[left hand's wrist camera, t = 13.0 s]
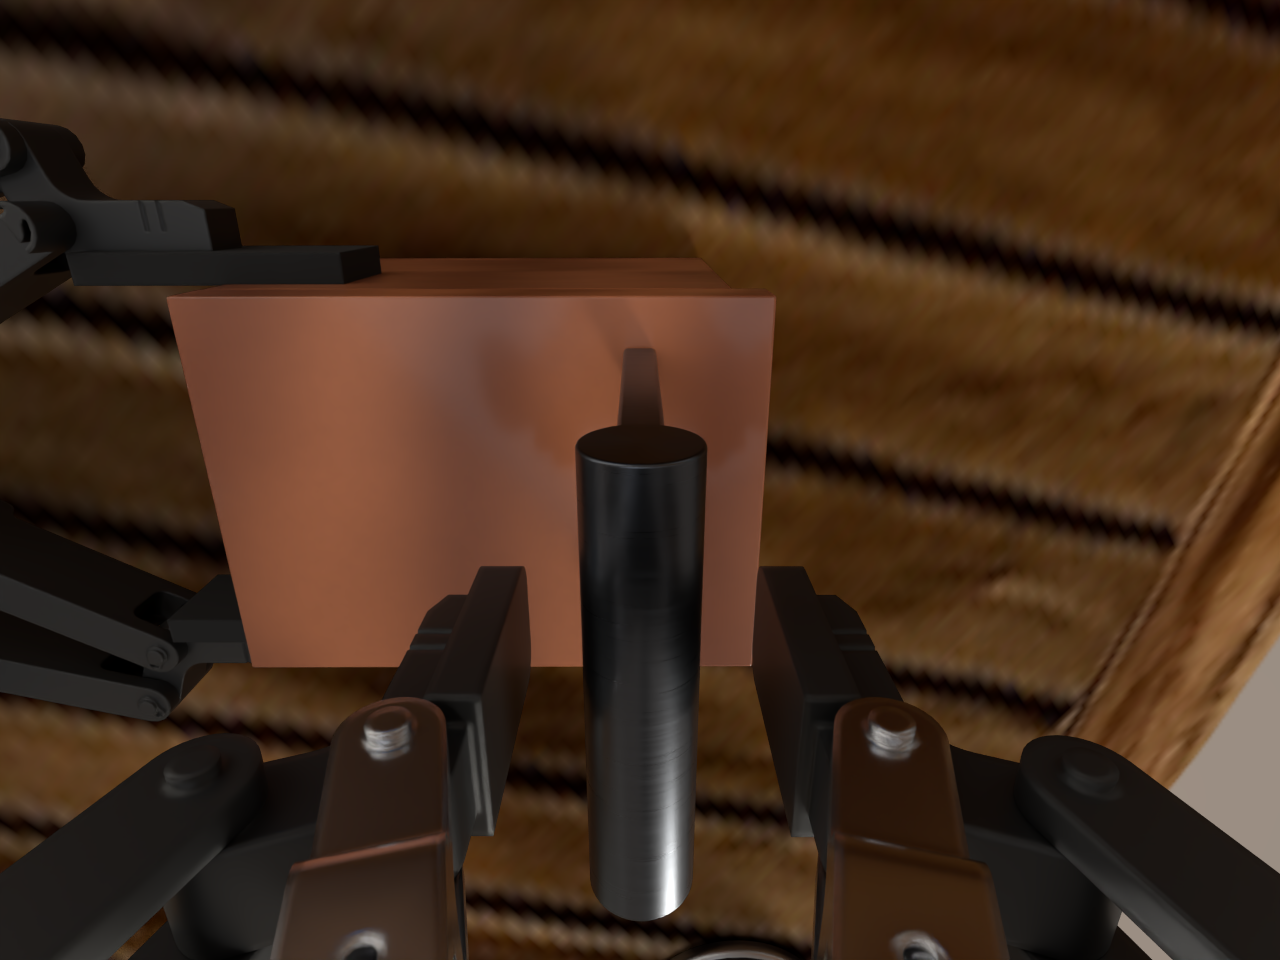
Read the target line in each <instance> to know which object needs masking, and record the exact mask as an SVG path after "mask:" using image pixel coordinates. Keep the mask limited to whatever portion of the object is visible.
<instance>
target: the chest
mask: <svg viewBox="0 0 1280 960" xmlns="http://www.w3.org/2000/svg"><path fill="white" fill-rule="evenodd" d="M380 264H381V272H382V273H381V274H378V275H374V276H371V277H368V278H364V279H361V280H357V281H354V282H351V283H347V284H225V285H221V286H216V287H211V288H206V289H204V290H253V289H731V288H730V287H729V286H728V285H727V284H726V283H725V282H724V281H723V280H722V279H721V278H720V277H719V276H718V275H717V274H716V273H715V272H714V271H713V270H712V269H711V268H710V267H709V266H708V265H707V264H706V263H705V262H704V261H703V260H702V259H701V258H380Z"/></svg>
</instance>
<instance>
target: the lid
mask: <svg viewBox="0 0 1280 960" xmlns="http://www.w3.org/2000/svg"><path fill="white" fill-rule="evenodd" d="M167 303H168V307H169V312H170V316H171V320H172V324H173V329H174V333H175V337H176V342H177V346H178V350H179V354H180V359H181V363H182V367H183V371H184V376H185V380H186V384H187V389H188V393H189V397H190V401H191V406H192V410H193V414H194V418H195V423H196V427H197V431H198V436H199V440H200V444H201V448H202V453H203V457H204V461H205V465H206V470H207V474H208V478H209V483H210V487H211V491H212V495H213V500H214V504H215V508H216V512H217V517H218V521H219V525H220V530H221V534H222V538H223V542H224V547H225V551H226V555H227V559H228V564H229V568H230V572H231V577H232V581H233V585H234V589H235V594H236V598H237V602H238V606H239V611H240V615H241V619H242V624H243V628H244V632H245V636H246V641H247V645H248V649H249V653H250V658H251V662H252V666H253V667H399V666H400V664H401V662H402V660H403V658H404V656H405V654H406V652H407V650H409V649H410V644H411V642H412V640H413V638H414V636H415V634H418V629H419V627H420V625H421V623H422V621H423V619H424V617H425V615H426V613H427V611H428V610H429V609H431V608H432V607H433V606H434V605H436V604H437V603H438V602H440V601H441V600H442V599H443V598H445V597H446V596H447V595H468V593H469V591H470V588H471V586H472V584H473V581H474V579H475V577H476V574H477V572H478V570H479V568H480V567H481V566H524V567H525V570H526V576H527V588H528V604H529V619H530V635H531V667H544V666H583V687H584V715H585V743H586V771H587V799H588V828H589V856H590V880H591V886H592V889H593V891H594V893H595V895H596V897H597V899H598V900H599V901H600V903H601V904H602V905H603V906H604V907H605V908H606V909H607V910H609V911H610V912H612V913H613V914H615V915H617V916H619V917H621V918H624V919H628V920H633V921H650V920H655V919H659V918H662V917H664V916H666V915H668V914H670V913H671V912H673V911H674V910H675V909H677V908H678V907H679V906H680V905H681V904H682V903H683V901H684V900H685V898H686V897H687V895H688V893H689V891H690V888H691V885H692V879H693V851H694V822H695V794H696V765H697V736H698V707H699V678H700V666H751V665H752V642H753V627H754V612H755V597H756V582H757V573H758V568H759V553H760V538H761V523H762V508H763V493H764V477H765V462H766V447H767V432H768V417H769V402H770V387H771V371H772V356H773V341H774V326H775V311H776V296H775V295H773V294H772V293H771V292H769V291H768V290H766V289H253V290H196V291H191V292H186V293H181V294H177V295H172V296H168V297H167Z"/></svg>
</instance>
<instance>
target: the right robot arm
mask: <svg viewBox="0 0 1280 960" xmlns="http://www.w3.org/2000/svg"><path fill="white" fill-rule="evenodd" d="M84 164H85V152H84V149H83V146H82V144H81V142H80V141H79V139H78V138H77V136H76V135H75V134H73V133H72V132H71V131H69V130H68V129H66V128H64V127H61V126H58V125H50V124H42V123H34V122H26V121H18V120H10V119H2V118H0V197H3V196H5V197H6V198H7V200H8V201H0V209H4V212H3V213H2V214H0V324H1V323H2V322H4V321H5V320H7V319H8V318H10V317H11V316H13V315H14V314H16V313H17V312H19V311H21V310H22V309H24V308H25V307H27V306H28V305H30V304H31V303H33V302H34V301H36V300H37V299H39V298H40V297H42V296H44V295H45V294H47V293H48V292H50V291H51V290H53V289H54V288H56V287H57V286H59V285H60V284H62V283H63V282H65V281H67V280H68V279H70V278H71V277H72V279H73V283H74V286H192V285H225V284H347V283H351V282H354V281H357V280H361V279H364V278H368V277H371V276H374V275H378V274H381V273H382V272H381V264H380V256H379V248H378V246H242V245H241V239H240V234H239V229H238V224H237V219H236V213H235V208H232V207H230V206H227V205H224V204H222V203H219V202H217V201H214V200H117V199H113V198H111V197H108V196H106V195H105V194H103V193H102V192H100V191H99V190H98V189H97V188H96V187H95V186H94V185H93V183H92V182H91V181H90V179H89V178H88V176H87V175H86V173H85V171H84V170H83V168H82V167H83V166H84ZM13 514H14V508H13V506H12V505H11V504H9V503H7V502H5V501H3V500H0V692H4V693H9V694H15V695H20V696H25V697H30V698H35V699H40V700H45V701H51V702H56V703H61V704H66V705H71V706H76V707H81V708H87V709H92V710H97V711H102V712H107V713H112V714H117V715H122V716H128V717H133V718H138V719H143V720H148V721H160V720H163V719H165V718H166V717H167V716H168V715H169V714H170V713H171V712H172V711H173V710H174V709H175V708H176V707H177V705H178V704H179V703H180V702H181V701H182V700H183V699H184V698H185V697H186V696H187V694H188V693H189V692H190V691H191V690H192V689H193V688H194V687H195V686H196V685H197V683H198V682H199V681H200V680H201V679H202V678H203V677H204V676H205V675H206V674H207V672H208V671H209V670H210V669H211V668H212V666H213V663H247V662H250V663H252V662H251V658H250V653H249V649H248V645H247V641H246V636H245V632H244V628H243V624H242V619H241V615H240V611H239V606H238V602H237V598H236V594H235V589H234V585H233V581H232V577H231V575H217V576H216V577H215V578H214V579H213V580H211V581H210V582H209V583H208V584H207V585H206V586H205V587H204V588H203V589H201V590H200V591H199V592H198V593H195V592H193V591H191V590H188V589H186V588H183V587H181V586H179V585H176V584H174V583H171V582H169V581H167V580H164V579H162V578H159V577H157V576H155V575H152V574H150V573H147V572H145V571H142V570H140V569H138V568H135V567H133V566H130V565H128V564H126V563H123V562H121V561H118V560H116V559H114V558H111V557H109V556H106V555H104V554H102V553H99V552H97V551H94V550H92V549H90V548H87V547H85V546H82V545H80V544H78V543H75V542H73V541H70V540H68V539H66V538H63V537H61V536H58V535H56V534H54V533H51V532H49V531H46V530H44V529H42V528H39V527H37V526H34V525H32V524H30V523H27V522H25V521H22V520H20V519H18V518H16V517H15V516H14V515H13ZM158 625H160V626H158Z"/></svg>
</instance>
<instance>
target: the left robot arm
mask: <svg viewBox="0 0 1280 960" xmlns="http://www.w3.org/2000/svg"><path fill="white" fill-rule="evenodd" d="M752 663H753V674H754V681H755V685H756V690H757V694H758V698H759V702H760V707H761V711H762V715H763V719H764V723H765V728H766V732H767V736H768V740H769V745H770V749H771V753H772V757H773V762H774V766H775V770H776V774H777V778H778V783H779V787H780V791H781V795H782V800H783V804H784V808H785V812H786V816H787V821H788V825H789V829H790V833H791V837H814V838H815V842H816V846H817V849H818V853H819V854H818V862H817V870H816V878H815V898H814V918H813V938H812V958H811V960H1152V959H1151V958H1150V957H1149V956H1148V955H1147V954H1146V953H1145V952H1144V951H1143V950H1142V949H1141V948H1140V947H1139V946H1138V945H1137V944H1136V943H1135V942H1134V941H1133V940H1132V939H1131V938H1130V937H1129V936H1128V935H1126V933H1124V932H1123V931H1122V930H1121V929H1120V928H1119V927H1118V926H1117V925H1118V921H1119V919H1120V915H1121V913H1122V912H1124V913H1125V914H1126V915H1127V916H1128V917H1129V918H1130V919H1131V920H1132V921H1133V922H1134V923H1135V924H1136V925H1137V926H1138V927H1139V928H1140V929H1141V930H1142V931H1143V932H1144V933H1145V934H1146V935H1147V936H1149V937H1150V938H1151V939H1152V940H1153V941H1154V942H1155V943H1156V944H1157V945H1158V946H1159V947H1160V948H1161V949H1162V950H1163V951H1164V952H1165V953H1166V954H1167V955H1168V956H1169V957H1170V958H1171V959H1173V960H1280V874H1279V873H1278V872H1277V871H1275V870H1274V869H1273V868H1271V867H1270V866H1269V865H1267V864H1266V863H1265V862H1263V861H1262V860H1261V859H1259V858H1258V857H1257V856H1255V855H1254V854H1253V853H1251V852H1250V851H1249V850H1247V849H1246V848H1245V847H1243V846H1242V845H1241V844H1239V843H1238V842H1237V841H1235V840H1234V839H1233V838H1231V837H1230V836H1229V835H1227V834H1226V833H1225V832H1223V831H1222V830H1221V829H1219V828H1218V827H1217V826H1215V825H1214V824H1213V823H1211V822H1210V821H1209V820H1207V819H1206V818H1205V817H1203V816H1202V815H1201V814H1199V813H1198V812H1197V811H1195V810H1194V809H1193V808H1191V807H1190V806H1189V805H1187V804H1186V803H1185V802H1183V801H1182V800H1181V799H1179V798H1178V797H1177V796H1175V795H1174V794H1173V793H1171V792H1170V791H1169V790H1167V789H1166V788H1165V787H1163V786H1162V785H1161V784H1159V783H1158V782H1157V781H1155V780H1154V779H1153V778H1151V777H1150V776H1149V775H1147V774H1146V773H1145V772H1143V771H1142V770H1141V769H1139V768H1138V767H1137V766H1135V765H1134V764H1133V763H1131V762H1130V761H1128V760H1127V759H1125V758H1124V757H1123V756H1121V755H1119V754H1117V753H1116V752H1114V751H1112V750H1110V749H1108V748H1106V747H1103V746H1101V745H1099V744H1096V743H1093V742H1091V741H1087V740H1084V739H1080V738H1075V737H1070V736H1060V735H1052V736H1044V737H1039V738H1036V739H1034V740H1032V741H1031V742H1029V743H1028V744H1027V745H1026V746H1025V747H1024V749H1023V752H1022V755H1021V759H1020V763H1017V762H1013V761H1008V760H1004V759H999V758H995V757H991V756H986V755H982V754H977V753H973V752H970V751H966V750H963V749H960V748H957V747H955V746H952V745H950V744H949V741H948V738H947V735H946V733H945V731H944V730H943V728H942V727H941V726H940V725H939V723H938V722H937V721H936V720H934V719H933V718H932V717H931V716H930V715H928V714H927V713H925V712H924V711H922V710H920V709H919V708H917V707H915V706H912V705H910V704H908V703H905V702H904V701H903V700H902V698H901V696H900V694H899V692H898V690H897V688H896V686H895V684H894V682H893V680H892V678H891V677H890V675H889V673H888V671H887V669H886V667H885V665H884V663H883V661H882V659H881V657H880V656H879V654H878V652H877V651H875V646H874V644H873V642H872V640H871V638H870V636H869V634H867V633H866V629H865V627H864V625H863V623H862V621H861V619H860V617H859V615H858V613H857V612H856V611H855V610H854V609H853V608H851V607H850V606H849V605H848V604H846V603H845V602H844V601H842V600H841V599H840V598H839V597H837V596H836V595H816V593H815V591H814V589H813V586H812V584H811V582H810V580H809V577H808V575H807V573H806V571H805V569H804V567H802V566H760V567H759V569H758V573H757V582H756V597H755V612H754V627H753V642H752ZM530 668H531V635H530V619H529V604H528V588H527V576H526V570H525V567H524V566H481V567H480V568H479V570H478V572H477V574H476V577H475V579H474V581H473V584H472V586H471V588H470V591H469V593H468V595H447V596H446V597H445V598H443V599H442V600H441V601H440V602H438V603H437V604H436V605H434V606H433V607H432V608H431V609H429V610H428V611H427V613H426V615H425V617H424V619H423V621H422V623H421V625H420V627H419V629H418V634H415V636H414V638H413V640H412V642H411V644H410V649H409V650H407V652H406V654H405V656H404V658H403V660H402V662H401V664H400V666H399V667H398V669H397V671H396V673H395V675H394V677H393V679H392V681H391V683H390V685H389V687H388V689H387V691H386V693H385V695H384V697H383V699H382V700H381V701H378V702H375V703H372V704H370V705H368V706H365V707H363V708H361V709H360V710H358V711H356V712H355V713H353V714H352V715H350V716H349V717H348V718H347V719H346V720H344V721H343V722H342V723H341V725H340V726H339V727H338V728H337V730H336V731H335V733H334V735H333V738H332V741H331V746H328V747H326V748H323V749H320V750H316V751H312V752H309V753H304V754H300V755H295V756H291V757H286V758H282V759H277V760H273V761H269V762H264V763H263V759H262V755H261V751H260V748H259V746H258V745H257V744H256V742H255V741H253V740H252V739H250V738H249V737H246V736H243V735H239V734H230V733H223V734H213V735H207V736H203V737H199V738H195V739H192V740H189V741H187V742H184V743H181V744H179V745H177V746H175V747H173V748H171V749H169V750H167V751H165V752H163V753H162V754H160V755H159V756H157V757H156V758H154V759H153V760H151V761H150V762H149V763H147V764H146V765H145V766H143V767H142V768H141V769H139V770H138V771H137V772H135V773H134V774H133V775H131V776H130V777H129V778H127V779H126V780H125V781H123V782H122V783H121V784H119V785H118V786H117V787H115V788H114V789H113V790H111V791H110V792H109V793H107V794H106V795H105V796H103V797H102V798H101V799H99V800H98V801H97V802H95V803H94V804H93V805H91V806H90V807H89V808H87V809H86V810H85V811H83V812H82V813H81V814H79V815H78V816H77V817H75V818H74V819H73V820H71V821H70V822H69V823H67V824H66V825H65V826H63V827H62V828H61V829H59V830H58V831H57V832H55V833H54V834H53V835H51V836H50V837H49V838H47V839H46V840H45V841H43V842H42V843H41V844H39V845H38V846H37V847H35V848H34V849H33V850H31V851H30V852H29V853H27V854H26V855H25V856H23V857H22V858H21V859H19V860H18V861H17V862H15V863H14V864H13V865H11V866H10V867H9V868H7V869H6V870H5V871H3V872H2V873H1V874H0V960H108V959H109V958H110V957H111V956H112V955H113V954H114V953H115V952H116V951H117V950H118V949H119V948H120V947H121V946H122V945H123V944H124V943H125V942H126V941H127V940H128V939H129V938H130V937H132V936H133V935H134V934H135V933H136V932H137V931H138V930H139V929H140V928H141V927H142V926H143V925H144V924H145V923H146V922H147V921H148V920H149V919H150V918H151V917H152V916H153V915H154V914H155V913H157V912H158V911H159V910H160V909H161V908H162V907H164V910H165V913H166V916H167V919H168V921H167V922H166V923H165V924H164V925H163V926H162V927H161V928H160V929H159V930H158V931H157V932H156V933H155V934H153V935H152V936H151V937H150V938H149V939H148V940H147V941H146V942H145V943H144V944H143V945H142V946H141V947H140V948H139V949H138V950H137V951H136V952H135V953H134V954H133V955H132V956H131V957H130V958H129V959H128V960H469V958H468V938H467V918H466V898H465V878H464V870H463V862H464V860H465V856H466V852H467V849H468V845H469V841H470V837H471V836H493V835H494V831H495V826H496V822H497V818H498V813H499V809H500V805H501V800H502V796H503V792H504V787H505V783H506V779H507V774H508V770H509V765H510V761H511V757H512V752H513V748H514V744H515V739H516V735H517V731H518V726H519V722H520V718H521V713H522V709H523V705H524V700H525V696H526V692H527V687H528V683H529V677H530ZM671 960H801V959H799V958H798V957H796V956H795V955H793V954H792V953H790V952H788V951H786V950H783V949H781V948H778V947H776V946H773V945H769V944H765V943H760V942H754V941H742V940H732V941H720V942H714V943H708V944H704V945H701V946H698V947H694V948H692V949H689V950H687V951H685V952H683V953H681V954H679V955H677V956H675V957H674V958H672V959H671Z"/></svg>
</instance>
